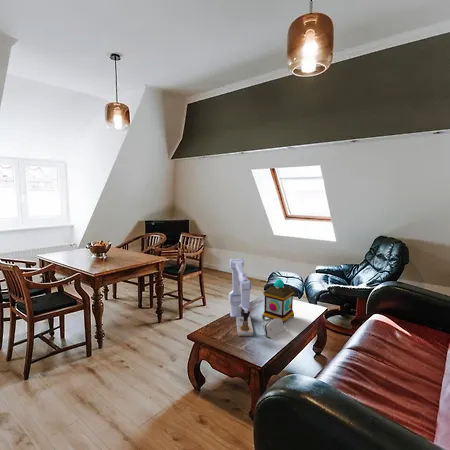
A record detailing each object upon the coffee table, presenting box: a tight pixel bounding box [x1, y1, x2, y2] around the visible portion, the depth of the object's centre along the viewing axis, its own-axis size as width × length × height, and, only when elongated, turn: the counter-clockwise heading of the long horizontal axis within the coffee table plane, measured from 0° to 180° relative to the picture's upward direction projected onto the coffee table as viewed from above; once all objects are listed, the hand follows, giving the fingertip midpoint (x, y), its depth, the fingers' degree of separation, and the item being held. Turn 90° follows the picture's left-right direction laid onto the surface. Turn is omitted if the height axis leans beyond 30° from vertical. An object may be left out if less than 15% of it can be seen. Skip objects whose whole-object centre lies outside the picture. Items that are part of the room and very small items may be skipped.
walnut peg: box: [242, 319, 248, 330], centre depth 198 cm, size 4×4×8 cm
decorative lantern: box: [261, 278, 295, 325], centre depth 216 cm, size 20×20×30 cm
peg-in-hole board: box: [235, 316, 254, 337], centre depth 205 cm, size 22×10×3 cm, turn 1°
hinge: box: [263, 319, 288, 340], centre depth 197 cm, size 17×5×10 cm, turn 131°
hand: (245, 318), depth 197 cm, fingers open, 7 cm apart
